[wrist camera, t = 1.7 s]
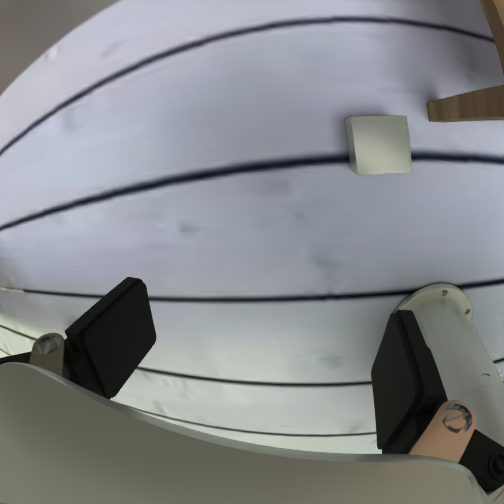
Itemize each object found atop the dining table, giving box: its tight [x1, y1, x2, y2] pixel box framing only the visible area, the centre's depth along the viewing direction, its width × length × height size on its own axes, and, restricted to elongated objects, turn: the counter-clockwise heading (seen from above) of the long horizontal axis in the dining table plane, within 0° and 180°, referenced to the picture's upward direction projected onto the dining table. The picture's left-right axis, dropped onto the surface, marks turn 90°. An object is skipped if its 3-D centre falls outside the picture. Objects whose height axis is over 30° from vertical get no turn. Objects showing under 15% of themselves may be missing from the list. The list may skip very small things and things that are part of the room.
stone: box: [345, 116, 412, 175], centre depth 23 cm, size 5×5×5 cm
